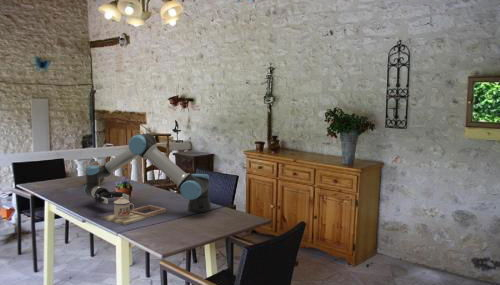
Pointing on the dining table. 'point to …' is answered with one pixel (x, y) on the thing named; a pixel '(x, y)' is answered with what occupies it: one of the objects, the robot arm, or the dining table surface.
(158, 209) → the wooden picture frame
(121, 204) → the teacup with lid
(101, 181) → the milk carton
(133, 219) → the ash board
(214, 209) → the dining table surface
